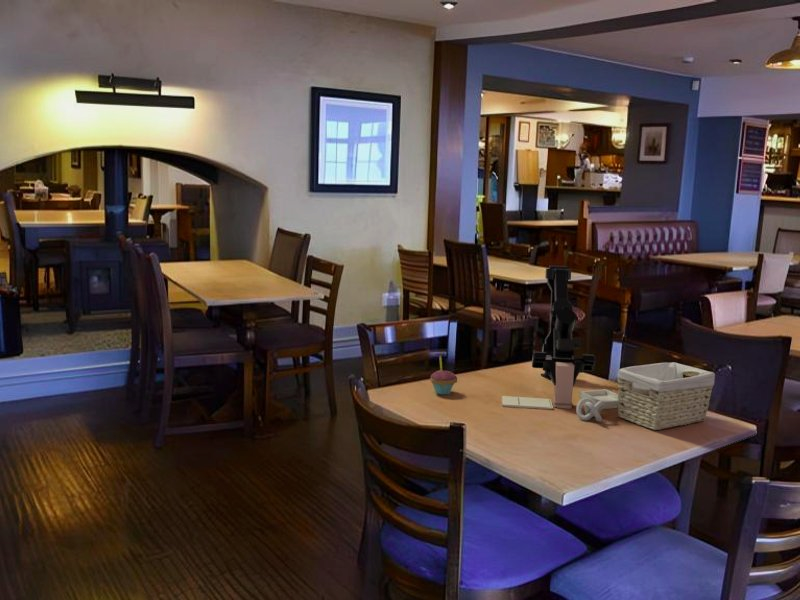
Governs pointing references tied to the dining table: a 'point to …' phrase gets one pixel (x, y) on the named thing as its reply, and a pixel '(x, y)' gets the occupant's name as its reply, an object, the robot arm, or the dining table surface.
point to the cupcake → (443, 380)
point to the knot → (589, 406)
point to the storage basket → (664, 394)
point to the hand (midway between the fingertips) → (564, 385)
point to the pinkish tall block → (563, 385)
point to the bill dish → (601, 397)
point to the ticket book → (526, 402)
